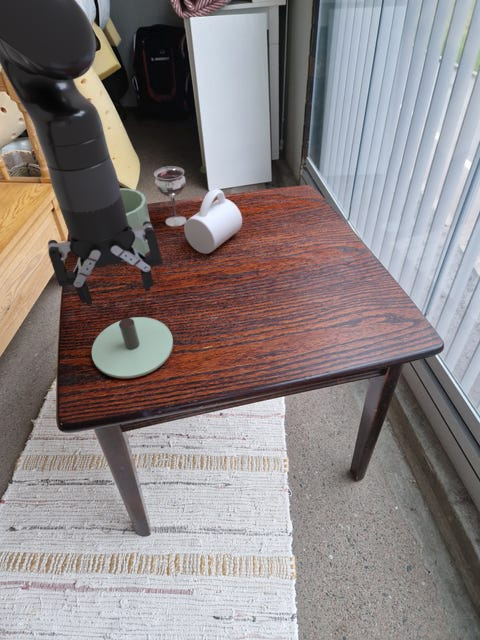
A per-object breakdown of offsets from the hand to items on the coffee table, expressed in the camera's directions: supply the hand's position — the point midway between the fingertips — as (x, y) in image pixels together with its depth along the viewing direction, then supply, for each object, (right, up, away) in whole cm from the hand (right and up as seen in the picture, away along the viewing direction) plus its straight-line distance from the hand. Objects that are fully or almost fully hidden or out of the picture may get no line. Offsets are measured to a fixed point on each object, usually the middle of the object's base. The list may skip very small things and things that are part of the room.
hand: (118, 294), depth 63 cm
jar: (-7, +13, +31) cm, 34 cm away
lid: (0, -8, +8) cm, 12 cm away
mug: (+12, +14, +31) cm, 37 cm away
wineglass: (+3, +20, +38) cm, 43 cm away
